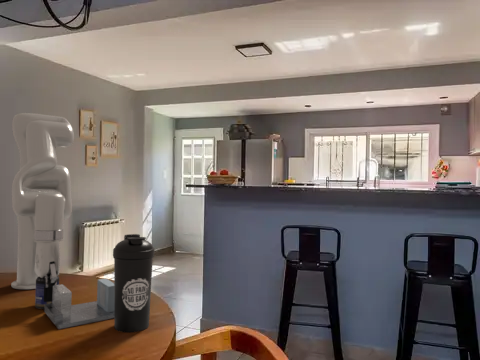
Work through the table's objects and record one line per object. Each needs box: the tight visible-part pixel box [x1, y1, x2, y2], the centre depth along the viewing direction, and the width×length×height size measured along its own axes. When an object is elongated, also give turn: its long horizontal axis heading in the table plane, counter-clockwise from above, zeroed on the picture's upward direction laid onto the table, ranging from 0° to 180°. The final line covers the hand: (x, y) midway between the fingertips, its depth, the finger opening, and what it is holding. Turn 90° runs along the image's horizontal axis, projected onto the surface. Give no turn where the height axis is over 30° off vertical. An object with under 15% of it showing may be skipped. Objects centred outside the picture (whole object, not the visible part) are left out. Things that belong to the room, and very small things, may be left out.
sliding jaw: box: [96, 278, 114, 312], centre depth 109 cm, size 9×2×7 cm, turn 38°
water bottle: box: [112, 233, 155, 333], centre depth 98 cm, size 10×10×23 cm
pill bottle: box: [34, 274, 60, 310], centre depth 111 cm, size 6×6×11 cm
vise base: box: [43, 283, 114, 330], centre depth 105 cm, size 14×19×8 cm
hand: (47, 297), depth 111 cm, fingers closed on pill bottle, 6 cm apart
